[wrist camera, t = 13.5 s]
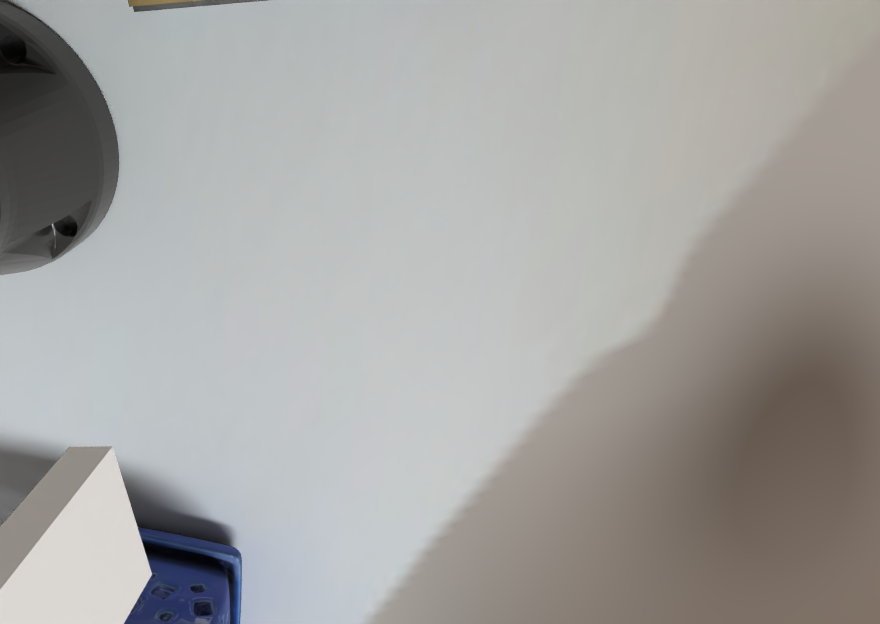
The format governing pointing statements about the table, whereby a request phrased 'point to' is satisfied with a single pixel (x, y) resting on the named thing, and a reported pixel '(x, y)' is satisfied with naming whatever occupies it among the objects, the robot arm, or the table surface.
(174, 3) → the grey flat box
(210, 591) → the flower pot
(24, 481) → the table surface
